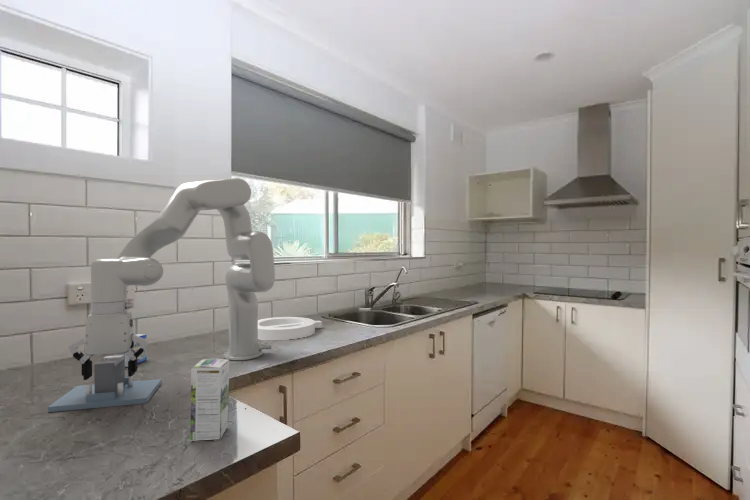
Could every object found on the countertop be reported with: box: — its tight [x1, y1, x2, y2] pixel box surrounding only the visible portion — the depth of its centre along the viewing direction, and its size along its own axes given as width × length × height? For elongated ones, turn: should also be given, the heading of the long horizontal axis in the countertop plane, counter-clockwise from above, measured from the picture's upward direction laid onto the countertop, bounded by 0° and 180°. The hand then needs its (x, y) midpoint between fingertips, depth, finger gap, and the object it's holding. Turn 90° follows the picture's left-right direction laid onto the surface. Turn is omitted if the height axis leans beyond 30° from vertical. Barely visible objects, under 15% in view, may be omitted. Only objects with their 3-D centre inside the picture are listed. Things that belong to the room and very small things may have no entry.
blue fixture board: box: [47, 373, 163, 413], centre depth 99 cm, size 20×14×4 cm
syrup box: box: [189, 358, 230, 440], centre depth 79 cm, size 6×6×14 cm
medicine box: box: [115, 333, 148, 368], centre depth 127 cm, size 8×4×9 cm, turn 168°
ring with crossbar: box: [258, 316, 323, 341], centre depth 172 cm, size 28×28×5 cm
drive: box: [93, 354, 126, 395], centre depth 100 cm, size 4×8×8 cm, turn 15°
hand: (110, 376), depth 99 cm, fingers open, 9 cm apart
